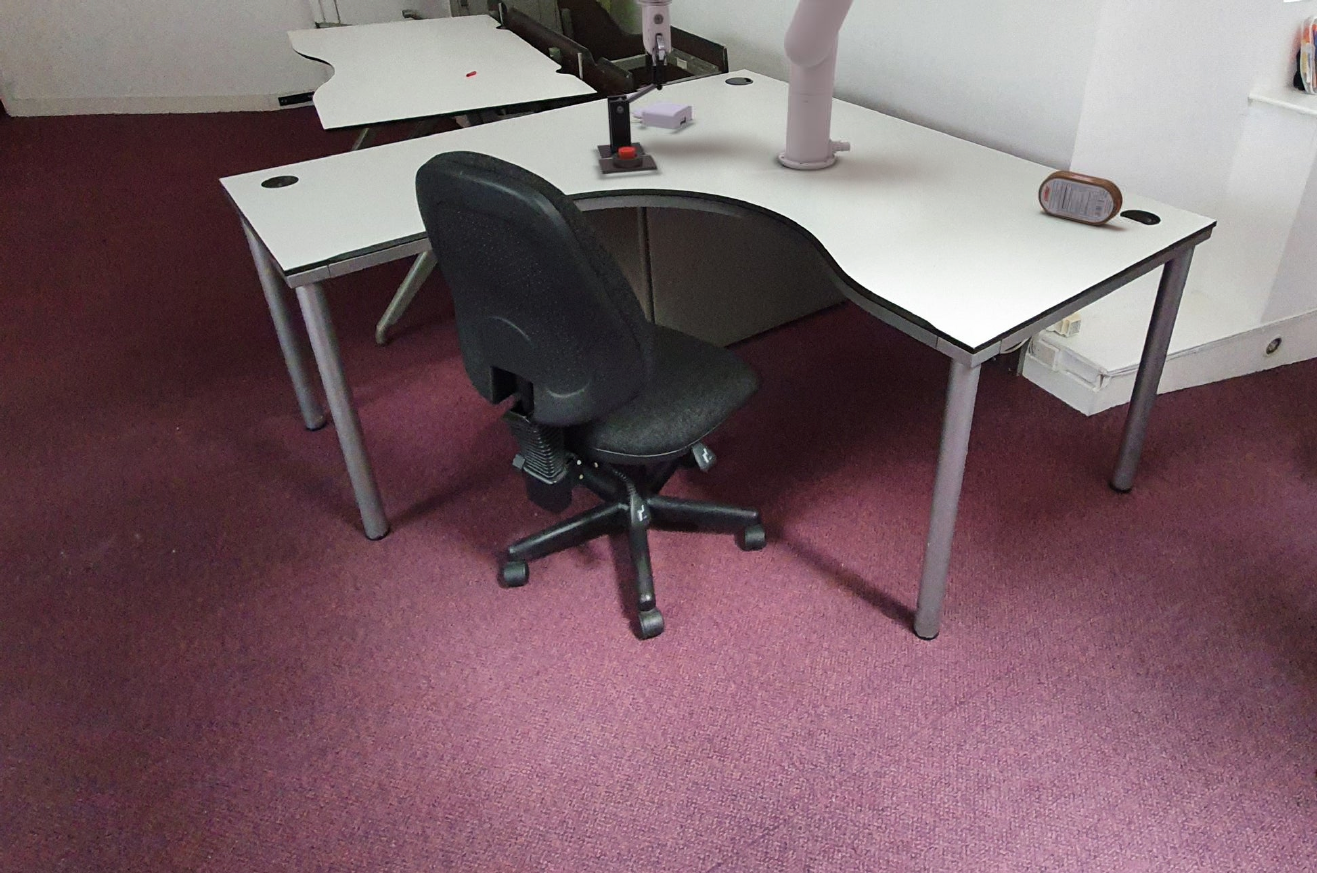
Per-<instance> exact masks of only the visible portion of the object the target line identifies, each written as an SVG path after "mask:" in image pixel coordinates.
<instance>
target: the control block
mask: <svg viewBox="0 0 1317 873" xmlns="http://www.w3.org/2000/svg"><path fill="white" fill-rule="evenodd" d="M598 165H599V167H600V170H601V173H602V175H610V174H620V173H621V174H622V173H632V172H633V173H634V172H643V171H656V170H658V166H657V164H656V162H655V159H654V157H653V155H652V154H645V155H642V154H641V153H640V152H637V151H635V157H634V158H628V159H624V158H619V152H617V153H615V154H613V155H612V158H600V159H598Z"/></svg>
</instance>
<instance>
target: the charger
mask: <svg viewBox="0 0 1317 873" xmlns="http://www.w3.org/2000/svg"><path fill="white" fill-rule="evenodd" d="M630 114H632V117H633V118H634V119H637V120H638V119H639V120H641V124H642V125H643V126H645V127H654V128H660V129H667V130H676V129H678V128H680V127H681V126H684V125H685V124H687V123H688V122H690V121H692V120H693V107H692V105H689V104H681V103H674V102H673V103H672V102H666V101H656V102H655V103H653V104H651V105H649V106H647V107H643V106H640V107H637V108H636V109H632V111H631V110H630Z"/></svg>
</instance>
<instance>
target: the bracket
mask: <svg viewBox="0 0 1317 873" xmlns="http://www.w3.org/2000/svg"><path fill="white" fill-rule="evenodd" d="M619 98H621V99H622V100H617V99H619ZM627 98H628V95H627V94H617V95H616V94H615V95H606V102H607V103H606V104H607V116H608V133H609V134H608V135H609V144H601V145H600V144H598V145H597V149H598V152H599V155H600V157H601V158H600V159H609V158H612V155H613V154H615V153H617V152H619V149H620V148H623V147H633V148H635V151H637V152H640V153H641V154H642V156H645V155H646V153H645V151H644V149H643V147H642V145H641V143H640V141H637V142H632V131H631V113H630V111H631V110H630V109H631V108H630V106H631V105H630V103H629V99H628V100H625V99H627Z"/></svg>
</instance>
